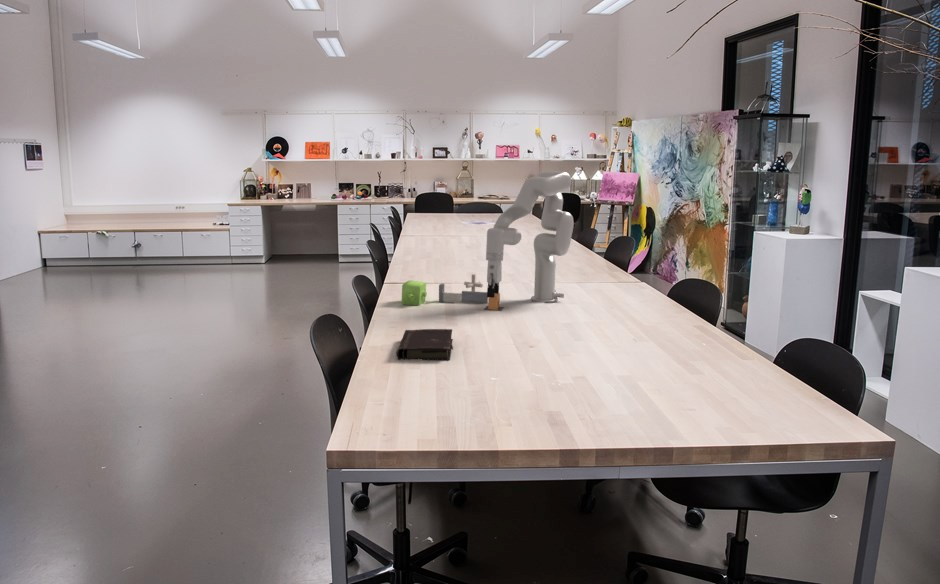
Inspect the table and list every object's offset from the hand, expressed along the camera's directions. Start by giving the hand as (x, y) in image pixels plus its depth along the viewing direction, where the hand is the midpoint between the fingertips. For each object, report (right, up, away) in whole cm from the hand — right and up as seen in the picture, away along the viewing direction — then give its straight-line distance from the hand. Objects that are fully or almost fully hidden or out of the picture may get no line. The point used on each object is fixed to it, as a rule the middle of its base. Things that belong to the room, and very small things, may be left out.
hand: (492, 295), depth 310 cm
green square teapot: (-35, -4, +12) cm, 37 cm away
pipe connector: (-9, 0, +33) cm, 34 cm away
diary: (-25, -19, -64) cm, 71 cm away
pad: (+1, -6, +2) cm, 6 cm away
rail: (-13, -3, +15) cm, 20 cm away
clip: (+1, -6, +2) cm, 6 cm away
